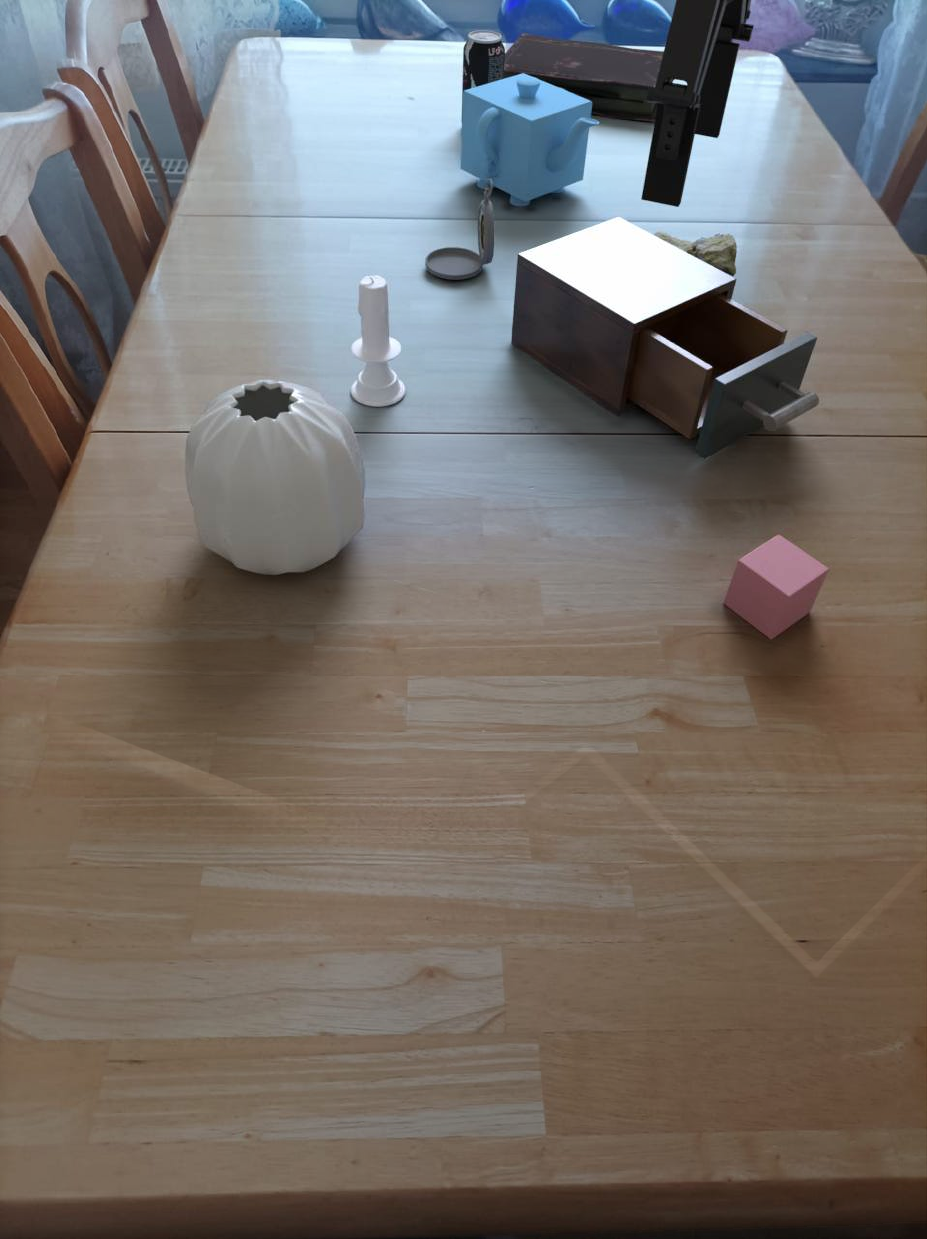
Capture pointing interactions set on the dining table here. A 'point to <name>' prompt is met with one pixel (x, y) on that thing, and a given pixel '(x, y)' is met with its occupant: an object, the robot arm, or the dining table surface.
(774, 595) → the block
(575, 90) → the diary
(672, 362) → the drawer
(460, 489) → the dining table surface
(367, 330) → the candle
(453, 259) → the pocket watch
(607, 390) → the cabinet
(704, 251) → the rock
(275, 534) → the vase
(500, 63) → the beverage can
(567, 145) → the teapot
